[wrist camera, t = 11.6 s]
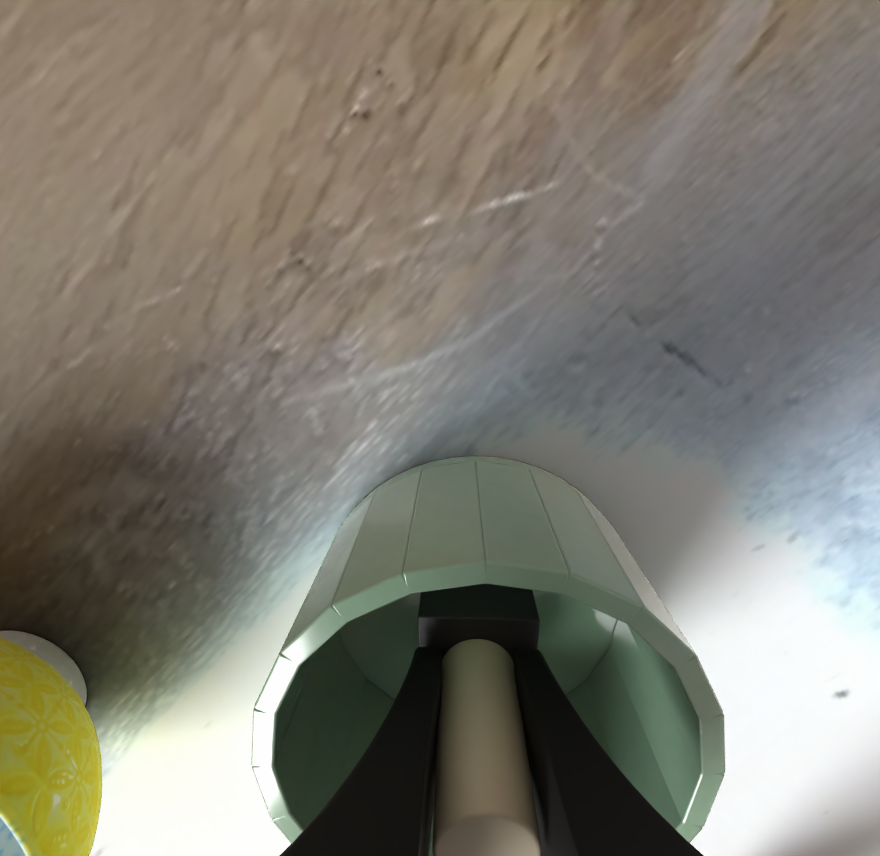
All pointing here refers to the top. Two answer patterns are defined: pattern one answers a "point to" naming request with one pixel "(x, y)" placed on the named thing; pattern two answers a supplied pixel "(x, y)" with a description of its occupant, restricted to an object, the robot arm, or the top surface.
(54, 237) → the top surface
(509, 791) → the brush
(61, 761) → the bowl
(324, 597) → the beaker
